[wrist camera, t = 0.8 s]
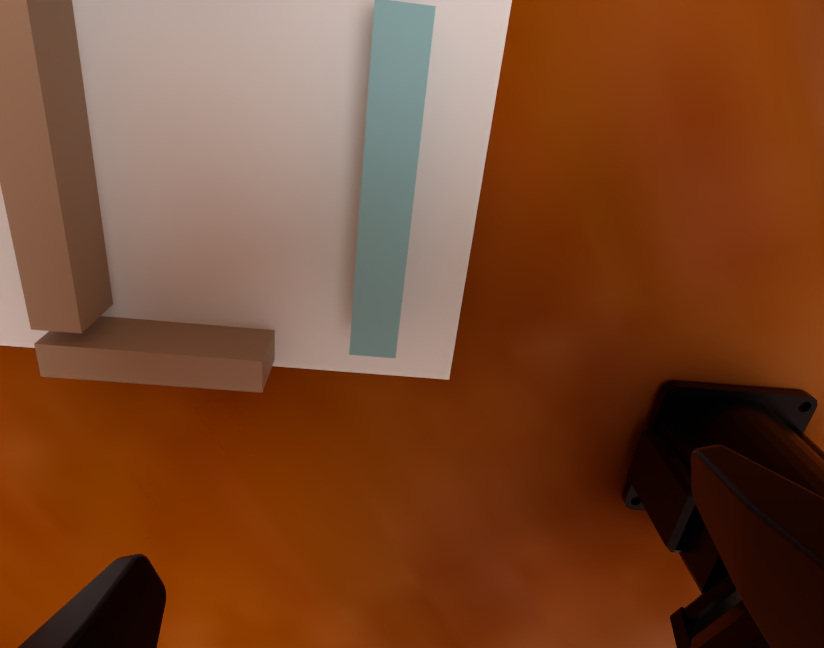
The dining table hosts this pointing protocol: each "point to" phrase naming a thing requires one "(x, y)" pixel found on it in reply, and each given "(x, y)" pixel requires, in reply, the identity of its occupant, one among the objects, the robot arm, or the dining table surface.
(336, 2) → the seat board
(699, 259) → the dining table surface
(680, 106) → the dining table surface
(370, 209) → the bar
